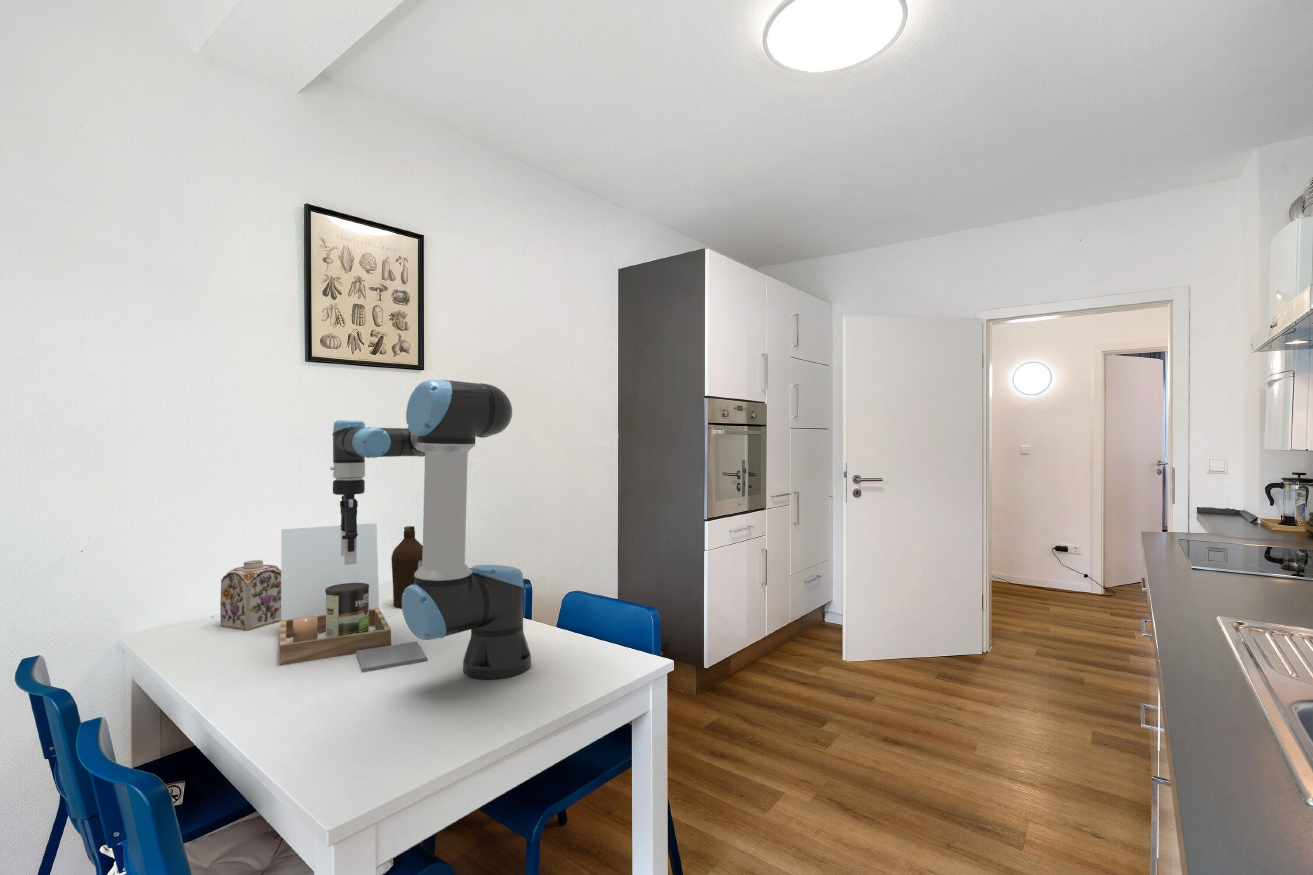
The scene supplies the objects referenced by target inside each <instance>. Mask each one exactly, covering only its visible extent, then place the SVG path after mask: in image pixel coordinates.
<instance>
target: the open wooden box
mask: <svg viewBox="0 0 1313 875" xmlns="http://www.w3.org/2000/svg"><path fill="white" fill-rule="evenodd" d="M317 617H318V634H323V633H324V632H325V633H326V615H320V616H317ZM373 626H374V627H375V629H376V630H369V632H363V633H356V634H349V635H342V636H335V637H329V638H326V637H324V638H322V637H321V638H318V639H315V640H308V641H301V642H294V643H293V642H289V643H287V639H288V638H293V619H289V620H281V621H280V633H279V635H280V636H279V666H285V664H286V665H291V664H296V663H297V664H298V663H303V662H310V661H317V660H321V659H322V660H323V659H329V658H335V657H342V656H347V655H353V654H356V651H359V650H365V649H371V648H378V647H384V646H390V645H392V629H391V627H390V625H389V623H388V621H387V620H386V618H385V616H384V614H383V612H382V611H381V608H380V607H379V608H375V609H369V627H373Z"/></svg>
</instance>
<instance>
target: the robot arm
mask: <svg viewBox="0 0 1313 875" xmlns="http://www.w3.org/2000/svg"><path fill="white" fill-rule="evenodd" d="M407 401H408V402H407V404H406V406H407V407H406V411H405V412H406V413H405V414H406V415H405V420H406V424H407V427H406V428H405V427H400V428H398V427H377V426H366V424H365V422H364V421H363V420H358V419H357V420H355V419H354V420H353V419H352V420H350V419H347V420H346V419H344V420H341V419H340V420H336V421H335V422H334V423H333V430H332V435H331V436H332V465H333V466H330V469H329V470H331V471H332V476H333V478H334V480H333V481H332V494H333V495H338V496H341V500H340V501H339V506H340V507H339V508H340V515H341V516H340V517H341V518H340V525H339V526H340V527H341V531H343V532H341V556H344V565H350V564H357V538H356V537H357V535H358V533H357V525H358V522H357V519H358V518H357V517H358V516H357V515H358V504H359V502H358V500H357V498H356V497H355V495H363V494H364V493H365V491H366V490H365V489H366V488H365V487H366V486H365V484H366V483H365V482H366V481H365V480H364V479H363V478H365V477H366V460H365V458H366V459H370V458H372V459H375V458H384V457H385V458H390V457H391V458H392V457H393V458H394V457H420V458H421V457H424V480H423V481H424V484H423V517H422V518H423V520H422V521H423V522H422V527H423V528H422V546H423V556H422V566H421V567H420V568H419V569H418V570H417V571H416V572H415V573H414V585H410V586H409V587H407V588H406V589H405V590H404V593H403V595H402V608H401V609H402V611H401V612H402V614H403V618H404V621H405V624H406V625H407V628H408V629H409V630H410V632H411V633H412V635H414V637H416V638H417V639H419V640H422V641H431V640H436V639H444V638H445V637H449V636H452V635H454V634H456V635H457V634H459V633H463V632H466V631H470V639H469V641H468V643H467V646H466V650H465V653H464V657H463V661H462V672H463V674H464V675H466V676H468V677H470V678H474V679H481V680H482V679H483V680H493V679H494V680H495V679H503V678H509V677H514V676H517V675H520V674H522V673H524V672H526V671H528V670H529V668H530V667H531V666H532V654H531V651H530V646H529V644H528V642H527V639H526V638H527V637H526V636H525V632H524V588H525V585H524V579H523V578H524V577H523V572H522V570H520V569H519V568H517V567H515V566H508V565H501V564H500V565H499V564H477V565H473V566H472V567H471V568H470V567H469V566H468V565H467V564H466V540H467V539H466V538H467V536H466V534H467V529H466V528H467V493H468V487H467V486H468V457H469V456H468V455H469V452H470V451H471V450H472V449H473V448H474V447H475V446H476V437H477V438H480V439H481V438H483V439H485V438H488V437H491V436H495V435H497V434H499V433H502V432H504V430H505V429H507V427H508V426H509V425H510V423H511V420H512V417H513V407H512V402H511V401H510V399H509V397H508V395H507V394H506V393H505V392H504V391H503V390H502V389H500V388H499V387H496V386H495V385H492V384H489V383H481V382H480V383H479V382H478V383H477V382H468V381H467V382H466V381H459V380H450V379H426V380H424V381H421V382H420V383H419V384H417V385H416V387H414V389H413V391H412V392H411V394H410V396H409V398H408V400H407Z"/></svg>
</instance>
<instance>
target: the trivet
mask: <svg viewBox="0 0 1313 875" xmlns="http://www.w3.org/2000/svg"><path fill="white" fill-rule="evenodd" d="M355 655H356V657H357V661H358V664H359V667H360V670H361V672H362V673H365V672H371V671H376V670H382V669H383V670H384V669H388V668H392V667H393V668H394V667H400V666H407V665H410V664H411V665H412V664H416V663H422V662H427V661H428V657H427V655H426V653H425V652H424V650H423V649H422V647H421V646H420V644H419V643H418V641H416V640H415V641H410V642H405V643H404V642H403V643H398V644H397V643H396V644H391V645H390V646H384V647H378V648H371V649H365V650H359V651H356V653H355Z"/></svg>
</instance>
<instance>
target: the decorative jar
mask: <svg viewBox="0 0 1313 875" xmlns="http://www.w3.org/2000/svg"><path fill="white" fill-rule="evenodd" d="M219 601H220V607H219V608H220V609H219V610H220V617H219V618H220V626H221V627H225V628H230V629H236V630H242V629H243V631H250V629H251V630H254V629H257V628H261V626H262V627H265V626H268V624H269V625H272V624H275V623H274V622H276V623H279V622H281V568H280V567H279V566H278V565H272V564H264V560H262V559H253V560H245V561H244V562H243V566H240V567H234V568H232V569H230V570H229V571H228V572H226V574H225V575H224V576H222V578H221V579H220V600H219ZM271 623H272V624H271ZM264 625H265V626H264Z"/></svg>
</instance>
